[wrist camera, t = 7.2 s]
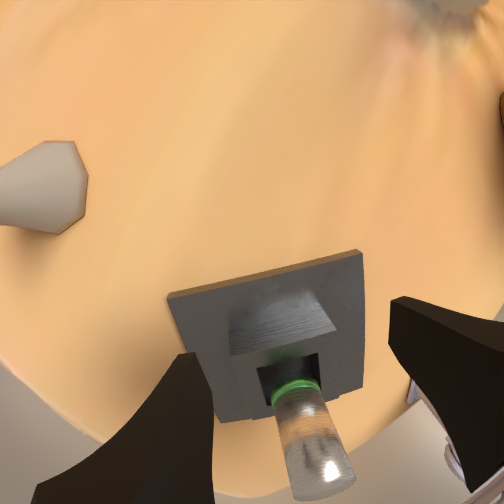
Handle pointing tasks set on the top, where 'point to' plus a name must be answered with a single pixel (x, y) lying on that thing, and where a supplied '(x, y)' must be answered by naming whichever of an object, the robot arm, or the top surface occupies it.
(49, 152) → the flask
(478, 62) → the top surface
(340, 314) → the charcoal stand
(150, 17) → the top surface
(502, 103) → the plant pot
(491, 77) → the top surface
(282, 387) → the steel column
